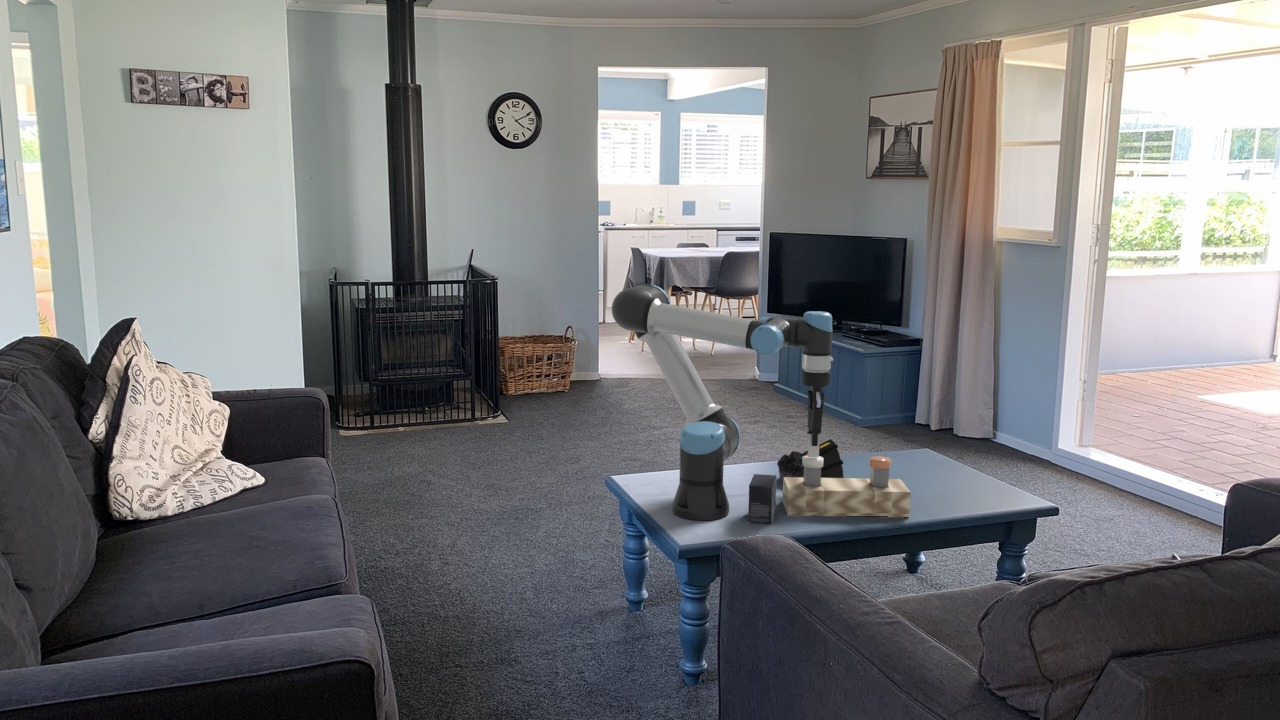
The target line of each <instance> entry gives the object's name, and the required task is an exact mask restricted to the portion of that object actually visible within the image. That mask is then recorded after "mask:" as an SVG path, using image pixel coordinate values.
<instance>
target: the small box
mask: <svg viewBox="0 0 1280 720" xmlns="http://www.w3.org/2000/svg"><path fill="white" fill-rule="evenodd" d="M776 514H777V474H758V473H754V474H753V476H752V478H751V480H750V483H749V484H748V524H759V525H770V526H772V525H773V523H774V520H775V516H776Z"/></svg>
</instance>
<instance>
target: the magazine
mask: <svg viewBox="0 0 1280 720" xmlns="http://www.w3.org/2000/svg"><path fill="white" fill-rule="evenodd" d="M838 448H839V446H838V444H837V443H836V442H835V440H832V439H831V438H830V439H828V440H826V441H824V442H822V443H819V456H820V457H823V458H824V460H823V467H821V478H845V477H844V468H843V465H844V460H843V459H841V456H840V455H841V454H840V452H839V449H838ZM807 455H808V450H806V451H804V452H801V454H800V455H798V457H799V459H798V461H799V462H800V463H801V464H802V457H803V456H807ZM802 466H803V465H802ZM803 470H804V466H803ZM802 473H803V474H804V471H803V472H802Z"/></svg>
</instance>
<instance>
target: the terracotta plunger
mask: <svg viewBox="0 0 1280 720" xmlns="http://www.w3.org/2000/svg"><path fill="white" fill-rule="evenodd" d="M868 464H869V465H868V466H869V467H870V477H869V479H870V484H871V486H872V487H881V488H888V481H889V479H890V477H889V475H890V469H891V466H892V458H890V457H886V456H879V455H878V456H876V455H875V456H870V457H869V463H868Z"/></svg>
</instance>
